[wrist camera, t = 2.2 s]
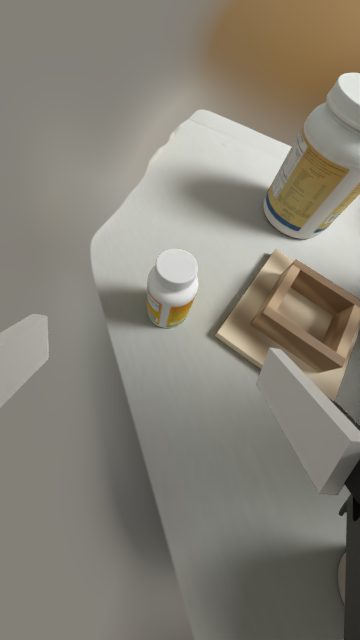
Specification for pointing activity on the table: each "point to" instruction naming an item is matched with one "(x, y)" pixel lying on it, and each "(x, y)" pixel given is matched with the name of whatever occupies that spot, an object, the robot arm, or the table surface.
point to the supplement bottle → (171, 287)
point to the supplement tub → (320, 166)
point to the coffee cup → (342, 577)
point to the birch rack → (296, 321)
